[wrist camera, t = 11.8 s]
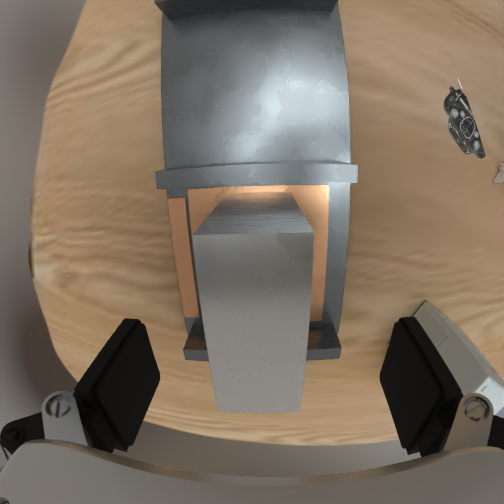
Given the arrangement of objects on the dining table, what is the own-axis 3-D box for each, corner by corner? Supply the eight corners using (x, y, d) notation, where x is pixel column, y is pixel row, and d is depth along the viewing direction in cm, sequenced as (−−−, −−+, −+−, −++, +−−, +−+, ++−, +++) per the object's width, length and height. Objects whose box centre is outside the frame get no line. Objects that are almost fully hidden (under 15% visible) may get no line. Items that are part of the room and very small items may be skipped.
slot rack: (314, -80, 10) (319, -105, 6) (335, 326, 22) (346, 357, 19) (176, -72, 10) (164, -95, 6) (190, 328, 23) (178, 359, 19)
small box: (385, 343, 23) (427, 433, 13) (425, 297, 21) (490, 375, 11) (428, 368, 24) (467, 441, 14) (463, 330, 22) (514, 396, 12)
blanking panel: (290, 192, 18) (314, 232, 9) (289, 315, 21) (299, 411, 12) (227, 193, 18) (192, 235, 9) (235, 316, 21) (218, 411, 12)
